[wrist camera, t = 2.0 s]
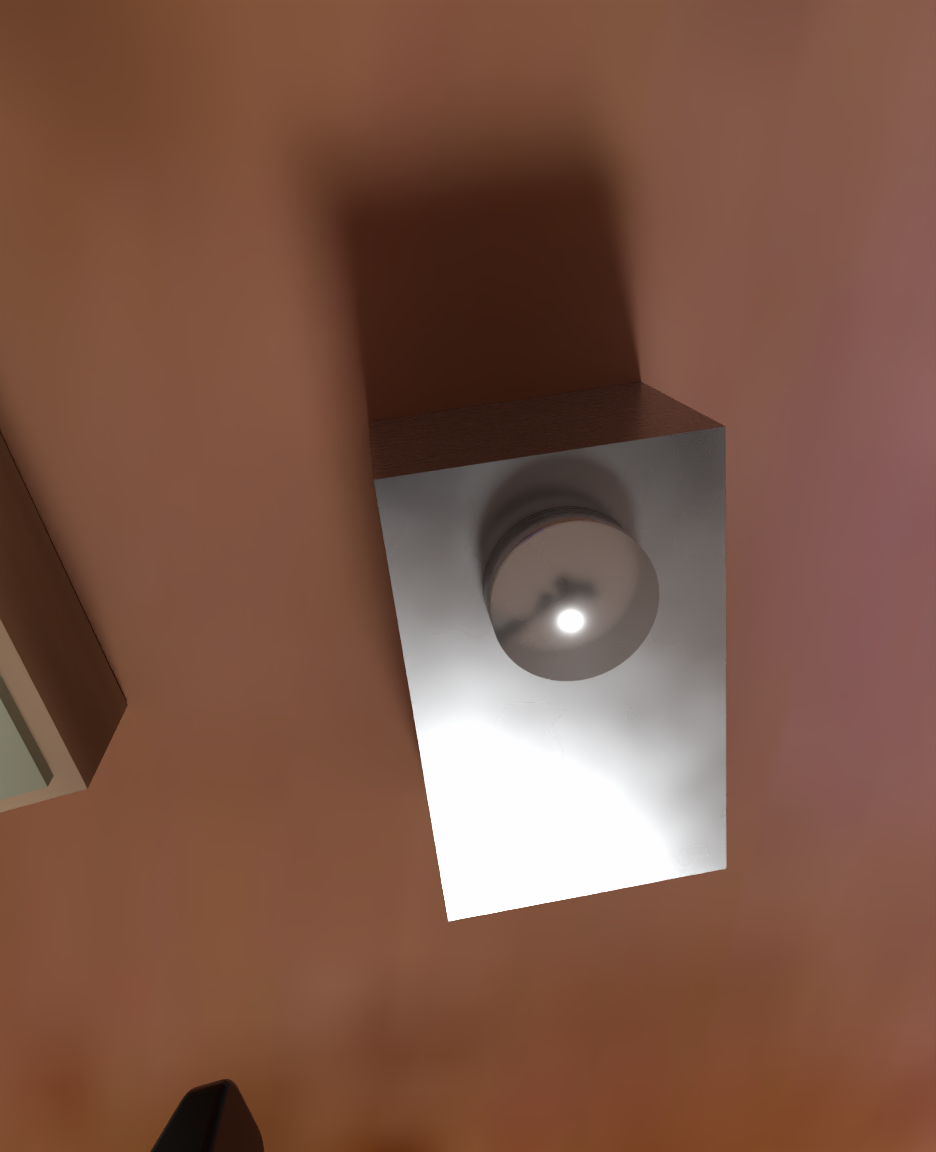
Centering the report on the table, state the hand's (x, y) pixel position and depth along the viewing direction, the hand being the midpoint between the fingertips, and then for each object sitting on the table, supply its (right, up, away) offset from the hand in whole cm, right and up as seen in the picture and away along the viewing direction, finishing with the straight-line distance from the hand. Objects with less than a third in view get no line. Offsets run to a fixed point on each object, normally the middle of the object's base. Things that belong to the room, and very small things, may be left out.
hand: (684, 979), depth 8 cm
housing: (-1, +4, +9) cm, 10 cm away
